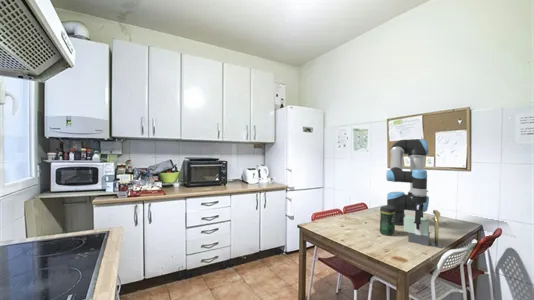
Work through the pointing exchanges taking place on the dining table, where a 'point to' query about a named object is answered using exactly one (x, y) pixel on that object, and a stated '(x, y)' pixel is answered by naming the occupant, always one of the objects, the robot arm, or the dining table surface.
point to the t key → (436, 224)
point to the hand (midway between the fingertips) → (419, 232)
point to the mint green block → (410, 225)
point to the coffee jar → (387, 220)
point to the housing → (421, 239)
